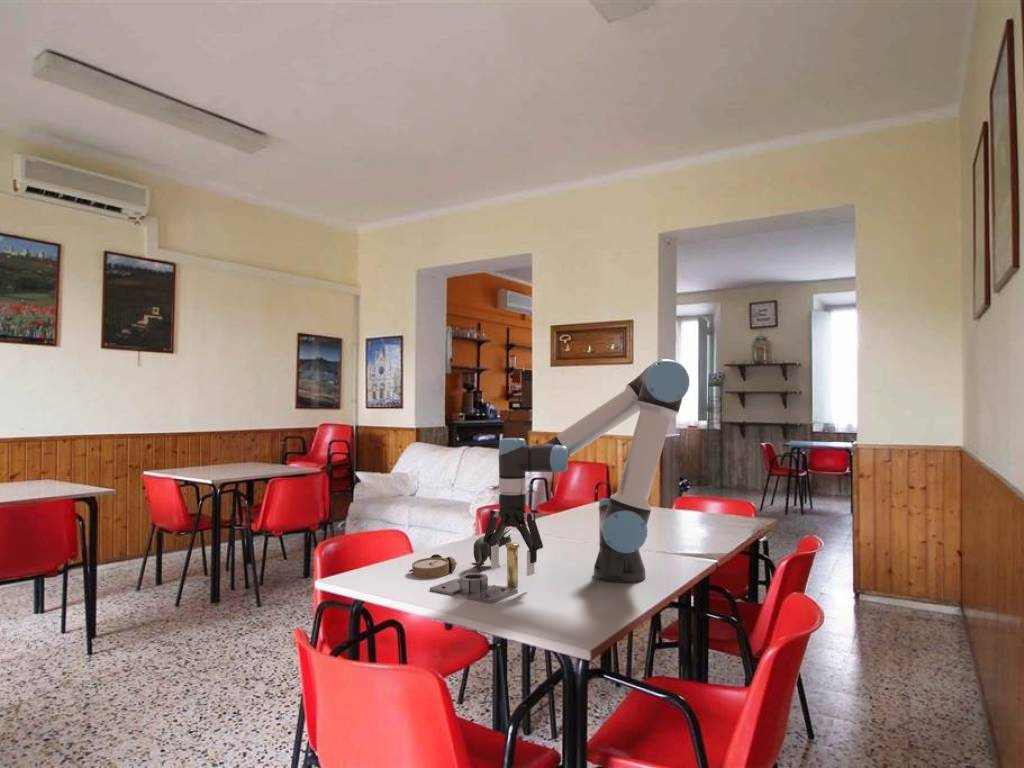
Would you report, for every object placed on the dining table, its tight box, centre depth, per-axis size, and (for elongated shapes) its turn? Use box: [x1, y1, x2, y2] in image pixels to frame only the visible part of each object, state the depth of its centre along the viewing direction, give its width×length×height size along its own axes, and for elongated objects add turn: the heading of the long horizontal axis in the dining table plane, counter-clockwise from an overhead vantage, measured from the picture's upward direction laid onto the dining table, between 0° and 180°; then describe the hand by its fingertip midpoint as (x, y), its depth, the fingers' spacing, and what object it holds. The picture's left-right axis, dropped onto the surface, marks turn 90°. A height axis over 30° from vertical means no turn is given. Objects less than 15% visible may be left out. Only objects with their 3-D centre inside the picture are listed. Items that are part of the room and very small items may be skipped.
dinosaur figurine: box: [470, 527, 512, 573], centre depth 199 cm, size 22×8×11 cm, turn 148°
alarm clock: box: [408, 553, 458, 579], centre depth 193 cm, size 11×5×15 cm
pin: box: [505, 542, 520, 589], centre depth 177 cm, size 4×4×12 cm
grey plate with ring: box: [429, 572, 519, 604], centre depth 172 cm, size 12×21×4 cm, turn 55°
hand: (512, 571), depth 177 cm, fingers open, 11 cm apart
